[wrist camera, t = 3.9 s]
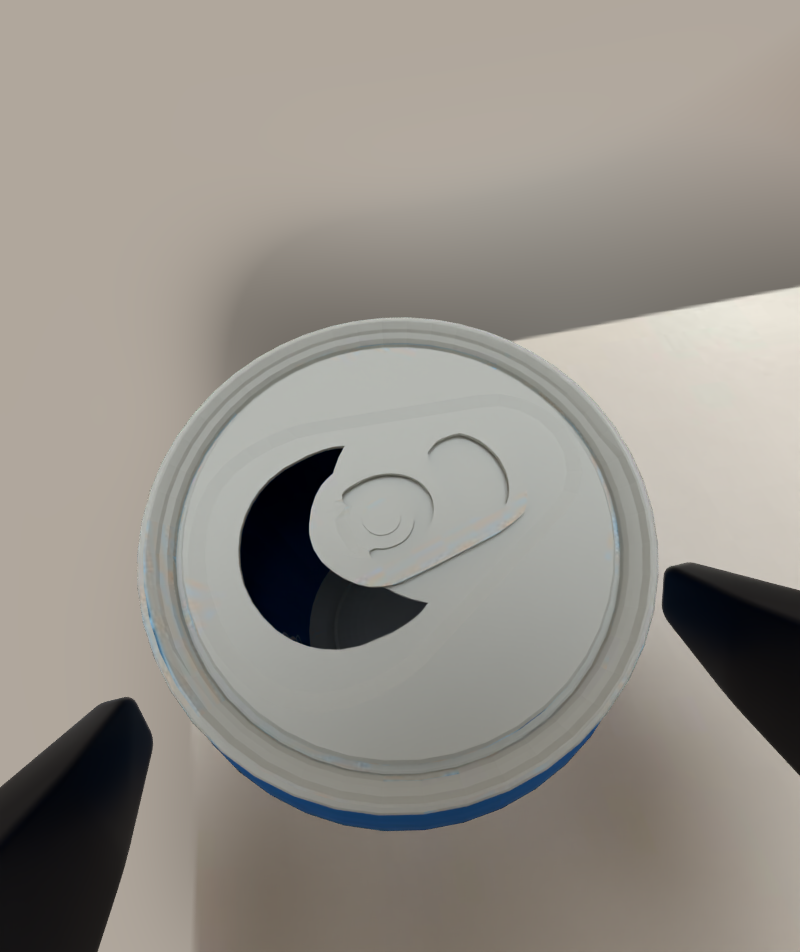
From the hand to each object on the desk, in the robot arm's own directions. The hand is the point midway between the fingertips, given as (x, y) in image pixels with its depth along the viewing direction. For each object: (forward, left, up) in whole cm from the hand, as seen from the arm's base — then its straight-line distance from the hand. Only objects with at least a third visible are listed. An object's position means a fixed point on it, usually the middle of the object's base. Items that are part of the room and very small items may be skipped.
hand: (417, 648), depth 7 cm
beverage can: (+1, 0, -9) cm, 9 cm away
